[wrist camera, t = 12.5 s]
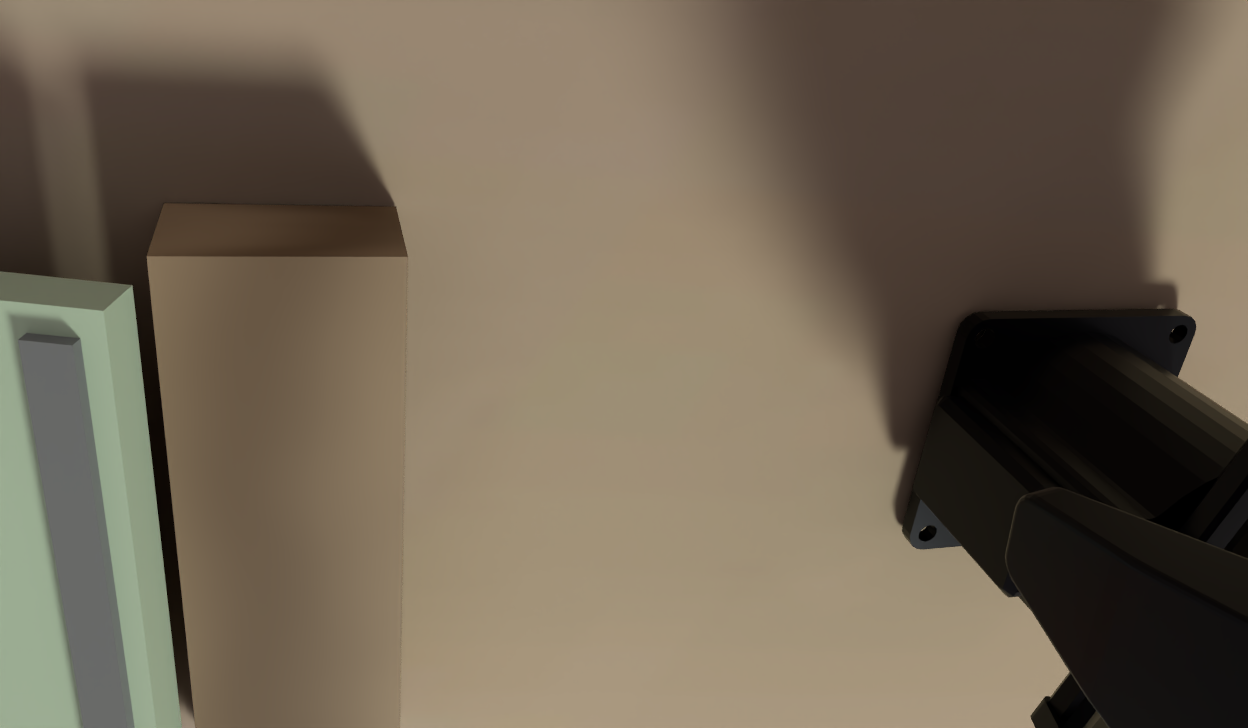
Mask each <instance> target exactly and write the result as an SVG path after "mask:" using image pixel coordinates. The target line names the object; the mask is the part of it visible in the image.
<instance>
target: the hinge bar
mask: <svg viewBox="0 0 1248 728" xmlns="http://www.w3.org/2000/svg"><path fill="white" fill-rule="evenodd" d="M147 265H148V275H149V285H150V294H151V304H152V314H153V323H154V333H155V343H156V352H157V362H158V372H159V381H160V391H161V400H162V410H163V420H164V429H165V439H166V449H167V458H168V468H169V478H170V487H171V497H172V506H173V516H174V526H175V535H176V545H177V555H178V564H179V574H180V584H181V593H182V603H183V613H184V622H185V632H186V641H187V651H188V661H189V670H190V680H191V690H192V699H193V709H194V719H195V728H400V694H401V634H402V575H403V516H404V456H405V397H406V337H407V278H408V256H407V251H406V247H405V243H404V239H403V234H402V230H401V226H400V222H399V218H398V213H397V209H396V207H384V206H319V205H255V204H190V203H164V204H163V207H162V210H161V214H160V217H159V220H158V223H157V226H156V229H155V232H154V235H153V238H152V241H151V244H150V247H149V250H148V254H147Z"/></svg>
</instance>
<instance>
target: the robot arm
mask: <svg viewBox="0 0 1248 728" xmlns="http://www.w3.org/2000/svg"><path fill="white" fill-rule="evenodd" d="M1173 329H1174V330H1173ZM982 330H985V332H984V334H983V336H982V337H980V338H979V339H978V340H975V339H976V337H977V335H978V333H980V332H981V331H982ZM1172 330H1173V331H1172ZM1195 330H1196V323H1195V320H1194V319H1193V318H1192V317H1190V316H1189V315H1187V314H1185V313H1184V312H1182V311H1180V310H1177V309H1127V310H1059V311H991V312H977V313H973V314H971V315H970V316H968V317H966V318H965V320H964V321H963V322H962V323H961V324H960V326H959V328H958V330H957V333H956V336H955V340H954V343H953V347H952V351H951V354H950V358H949V361H948V365H947V369H946V372H945V376H944V379H943V383H942V386H941V390H940V394H939V397H938V401H937V404H936V406H935V409H934V413H933V416H932V420H931V424H930V427H929V431H928V434H927V438H926V441H925V445H924V449H923V452H922V456H921V459H920V463H919V467H918V470H917V474H916V477H915V481H914V484H913V490H912V494H911V497H910V501H909V504H908V508H907V511H906V515H905V519H904V522H903V527H902V532H903V534H904V536H905V538H906V539H907V540H908V541H909V542H910V544H911V545H912V546H913V547H915V548H916V549H932V548H944V547H955V546H962V547H963V548H964V549H965V550H966V551H967V552H968V554H969V555H970V556H971V557H972V558H973V559H974V560H975V561H976V563H977V564H978V565H979V566H980V567H981V568H982V569H983V571H984V572H985V573H986V574H987V575H988V576H989V577H990V578H991V580H992V581H993V582H994V583H995V584H996V585H997V586H998V588H999V589H1000V590H1001V591H1002V592H1003V593H1004V594H1005V595H1006V596H1008V597H1019V598H1020V599H1021V600H1022V601H1023V602H1024V603H1025V604H1026V605H1027V607H1028V608H1029V609H1030V610H1031V611H1032V612H1033V614H1034V616H1035V617H1036V619H1037V620H1038V622H1039V624H1040V625H1041V627H1042V628H1043V630H1044V632H1045V633H1046V635H1047V636H1048V638H1049V639H1050V641H1051V643H1052V644H1053V646H1054V647H1055V649H1056V651H1057V652H1058V654H1059V655H1060V657H1061V659H1062V660H1063V662H1064V663H1065V665H1066V666H1067V668H1068V670H1069V671H1070V672H1069V674H1068V675H1067V676H1066V677H1065V679H1064V680H1063V681H1062V683H1061V684H1060V685H1059V687H1058V688H1057V689H1056V691H1055V692H1054V693H1053V695H1052V696H1051V697H1049V696H1045V698H1044V699H1043V700H1042V701H1041V703H1040V704H1039V705H1038V707H1037V708H1036V709H1035V711H1034V712H1033V713H1032V715H1031V719H1032V721H1033V723H1034V726H1035V728H1248V424H1247V423H1246V422H1244V421H1243V420H1241V419H1240V418H1238V417H1237V416H1235V415H1234V414H1232V413H1231V412H1229V411H1228V410H1226V409H1225V408H1223V407H1222V406H1220V405H1219V404H1217V403H1216V402H1214V401H1212V400H1211V399H1209V398H1208V397H1206V396H1205V395H1203V394H1202V393H1200V392H1199V391H1197V390H1196V389H1194V388H1193V387H1191V386H1190V385H1188V384H1187V383H1185V382H1184V381H1182V380H1181V379H1179V378H1178V375H1179V372H1180V370H1181V367H1182V365H1183V362H1184V360H1185V357H1186V355H1187V352H1188V350H1189V347H1190V345H1191V342H1192V339H1193V337H1194V334H1195ZM925 526H927V527H926V528H925V529H924V530H923V531H921V530H922V529H923V528H924V527H925Z"/></svg>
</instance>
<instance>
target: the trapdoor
mask: <svg viewBox="0 0 1248 728" xmlns="http://www.w3.org/2000/svg"><path fill="white" fill-rule="evenodd" d="M0 728H182V725H181V716H180V707H179V698H178V689H177V680H176V671H175V662H174V653H173V644H172V635H171V626H170V617H169V608H168V599H167V591H166V582H165V573H164V564H163V555H162V546H161V537H160V528H159V519H158V510H157V501H156V492H155V483H154V474H153V465H152V456H151V447H150V438H149V429H148V421H147V412H146V403H145V394H144V385H143V376H142V367H141V358H140V349H139V340H138V331H137V322H136V313H135V304H134V295H133V286H132V285H126V284H117V283H107V282H97V281H88V280H78V279H68V278H59V277H49V276H40V275H30V274H20V273H11V272H1V271H0Z"/></svg>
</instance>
